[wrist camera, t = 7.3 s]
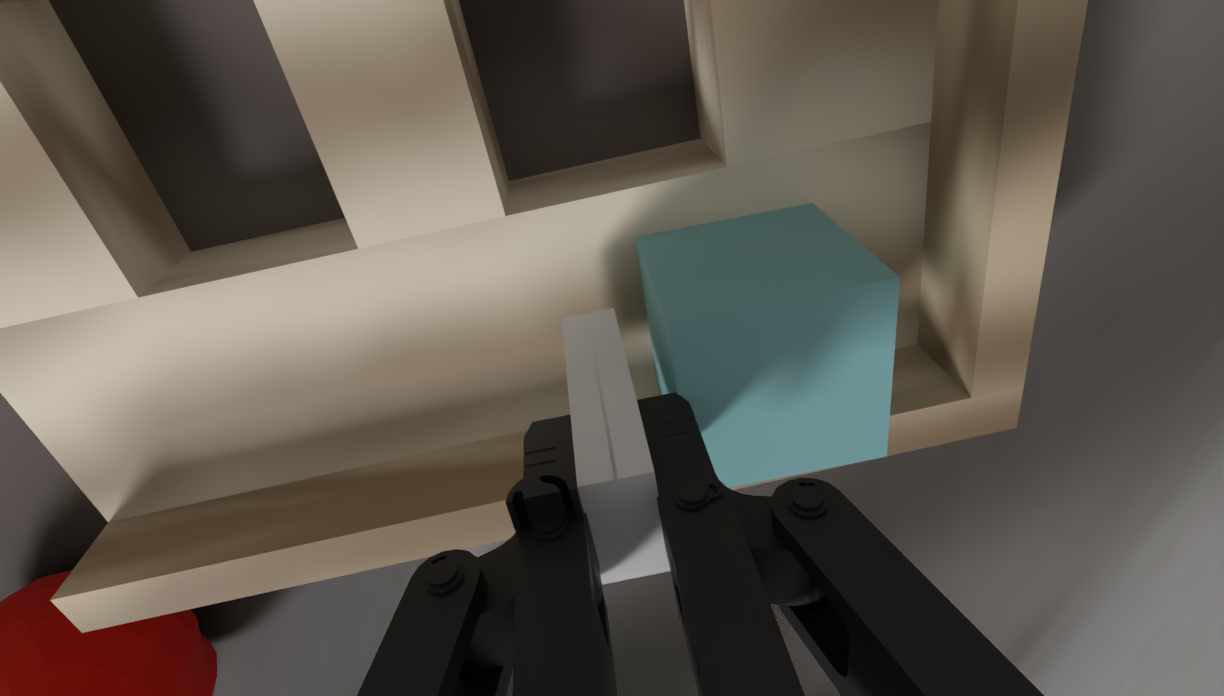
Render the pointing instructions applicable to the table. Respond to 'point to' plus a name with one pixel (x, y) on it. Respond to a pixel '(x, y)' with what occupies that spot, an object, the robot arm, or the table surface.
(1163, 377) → the table surface
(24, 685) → the tomato
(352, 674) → the table surface
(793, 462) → the teal block
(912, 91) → the board
